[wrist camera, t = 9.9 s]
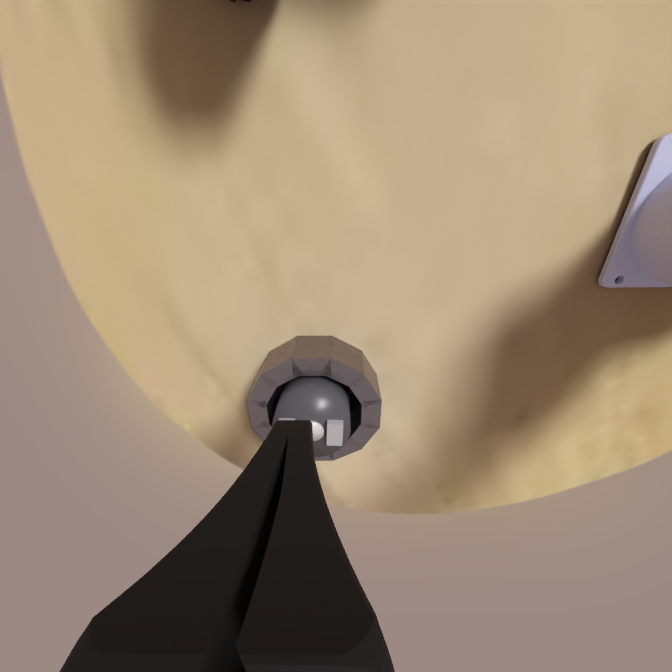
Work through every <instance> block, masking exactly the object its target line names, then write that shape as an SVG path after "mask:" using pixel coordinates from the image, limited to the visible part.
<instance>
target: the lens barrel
mask: <svg viewBox="0 0 672 672" xmlns="http://www.w3.org/2000/svg"><path fill="white" fill-rule="evenodd" d="M298 376H327V377H329V378H332V379H334V380H336V381H338V382H340V383H342V384H344V385H347V386H348V387H349V404H350V426H351V432H350V436H349V439H348V441H347V442H346V444H345V445H344V446H343V447H342V448H341V449H339V450H338V451H336V452H335V453H332V454H330V455H327V456H322V457H314V459H315V461H333V460H336V459H338V458H341V457H343V456H346V455H348V454H351V453H353V452H355V451H358V450H360V449H362V448H363V447H364V446H365V444H366V443H367V442H368V441H369V440H370V438H371V437H372V436H373V435H374V434H375V433H376V431H377V430H378V429H379V428H380V416H381V402H382V400H381V395H380V390H379V385H378V380H377V375H376V373H375V371H374V370H373V368H372V367H371V365H370V364H369V362H368V360H367V359H366V357H365V356H364V354H363V353H362V351H361V350H359V349H357V348H355V347H353V346H351V345H349V344H347V343H345V342H343V341H341V340H339V339H337V338H335V337H333V336H297V337H295V338H293V339H291V340H290V341H288V342H286V343H284V344H282V345H280V346H279V347H277V348H275V349H273V350H271V351H270V352H269V354H268V356H267V358H266V360H265V362H264V364H263V366H262V368H261V369H260V371H259V373H258V375H257V377H256V380H255V382H254V384H253V387H252V389H251V391H250V394H249V396H248V398H247V400H246V402H247V407H248V413H249V418H250V423H251V428H252V429H253V430H254V431H255V432H256V433H257V434H258V435H259V436H260V437H261V438H262V439H263V440H265V439H266V437H267V436H268V434H269V432H270V431H271V429H272V422H273V418H274V414H275V411H276V407H277V404H278V400H279V397H280V393H281V390H282V386H283V384H284V383H286V382H288V381H290V380H292V379H294V378H296V377H298Z"/></svg>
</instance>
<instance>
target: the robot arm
mask: <svg viewBox="0 0 672 672" xmlns="http://www.w3.org/2000/svg"><path fill="white" fill-rule="evenodd" d="M618 276H619V277H618ZM617 277H618V279H617V280H616V281H615V279H616V278H617ZM598 284H599V285H600V286H603V287H607V288H620V287H672V133H671V134H665V135H662V136H660V137H659V138H658V139H657V140H656V141H655V142H654V144H653V145H652V147H651V150H650V152H649V155H648V157H647V160H646V162H645V165H644V167H643V170H642V172H641V175H640V177H639V180H638V182H637V184H636V187H635V189H634V192H633V194H632V197H631V199H630V202H629V204H628V207H627V209H626V212H625V214H624V217H623V219H622V222H621V224H620V227H619V229H618V231H617V234H616V236H615V239H614V241H613V244H612V246H611V249H610V251H609V254H608V256H607V259H606V261H605V264H604V266H603V269H602V271H601V273H600V276H599V278H598ZM60 672H395V671H394V668H393V664H392V660H391V657H390V654H389V651H388V648H387V645H386V642H385V640H384V637H383V634H382V631H381V629H380V626H379V623H378V620H377V617H376V614H375V612H374V610H373V608H372V606H371V604H370V602H369V601H368V599H367V597H366V595H365V593H364V591H363V589H362V587H361V585H360V583H359V581H358V579H357V576H356V574H355V572H354V570H353V568H352V566H351V564H350V562H349V559H348V557H347V555H346V552H345V550H344V548H343V545H342V543H341V540H340V538H339V536H338V534H337V531H336V528H335V526H334V523H333V520H332V518H331V515H330V512H329V509H328V507H327V504H326V501H325V498H324V494H323V491H322V488H321V484H320V481H319V477H318V473H317V469H316V464H315V459H314V445H313V430H312V422H311V421H309V420H277V421H276V422H275V424H274V425H273V427H272V429H271V431H270V432H269V434H268V436H267V437H266V439H265V440H264V442H263V444H262V445H261V447H260V448H259V450H258V451H257V453H256V454H255V455H254V457H253V458H252V460H251V461H250V463H249V464H248V465H247V467H246V468H245V470H244V471H243V472H242V473H241V475H240V476H239V477H238V479H237V480H236V481H235V483H234V484H233V485H232V486H231V488H230V489H229V490H228V491H227V493H226V494H225V495H224V496H223V497H222V498H221V500H220V501H219V502H218V503H217V504H216V505H215V506H214V508H213V509H212V510H211V511H210V512H209V513H208V514H207V515H206V516H205V518H204V519H203V520H202V521H201V522H200V523H199V524H198V525H197V526H196V527H195V528H194V529H193V530H192V531H191V532H190V533H189V534H188V535H187V536H186V537H185V538H184V539H183V540H182V541H181V542H180V543H179V544H178V545H177V546H176V547H175V548H173V549H172V550H171V551H170V552H169V553H168V554H167V555H166V556H165V557H164V558H163V559H161V561H159V562H158V563H157V564H156V565H155V566H154V567H153V568H152V569H151V570H150V571H148V572H147V573H146V574H145V575H144V576H143V577H142V578H140V579H139V580H138V581H137V582H136V583H134V584H133V585H132V586H131V587H130V588H128V589H127V590H126V591H125V592H124V593H122V594H121V595H120V596H119V597H118V598H116V599H115V600H114V601H113V602H111V603H110V604H109V605H108V606H107V607H105V608H104V609H103V610H102V611H100V612H99V613H98V614H97V615H95V616H94V617H93V618H92V620H91V622H90V623H89V625H88V626H87V628H86V629H85V631H84V632H83V634H82V635H81V637H80V638H79V640H78V641H77V643H76V645H75V646H74V648H73V649H72V651H71V653H70V655H69V656H68V658H67V660H66V662H65V664H64V665H63V667H62V669H61V670H60Z"/></svg>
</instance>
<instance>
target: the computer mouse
mask: <svg viewBox="0 0 672 672" xmlns="http://www.w3.org/2000/svg"><path fill="white" fill-rule="evenodd" d="M277 420H309V421H311V422H312V430H313V445H314V457H322V456H327V455H330V454H332V453H335V452H336V451H338V450H339V449H341V448H342V447H343V446H344V445H345V444H346V442H347V441H348V439H349V436H350V432H351V426H350V404H349V387H348V386H347V385H344V384H342V383H340V382H338V381H336V380H334V379H332V378H329V377H327V376H298V377H296V378H294V379H292V380H290V381H288V382H286V383H284V384H283V386H282V390H281V393H280V397H279V400H278V404H277V407H276V411H275V414H274V418H273V422H272V427H273V425H274V424H275V422H276V421H277Z"/></svg>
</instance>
